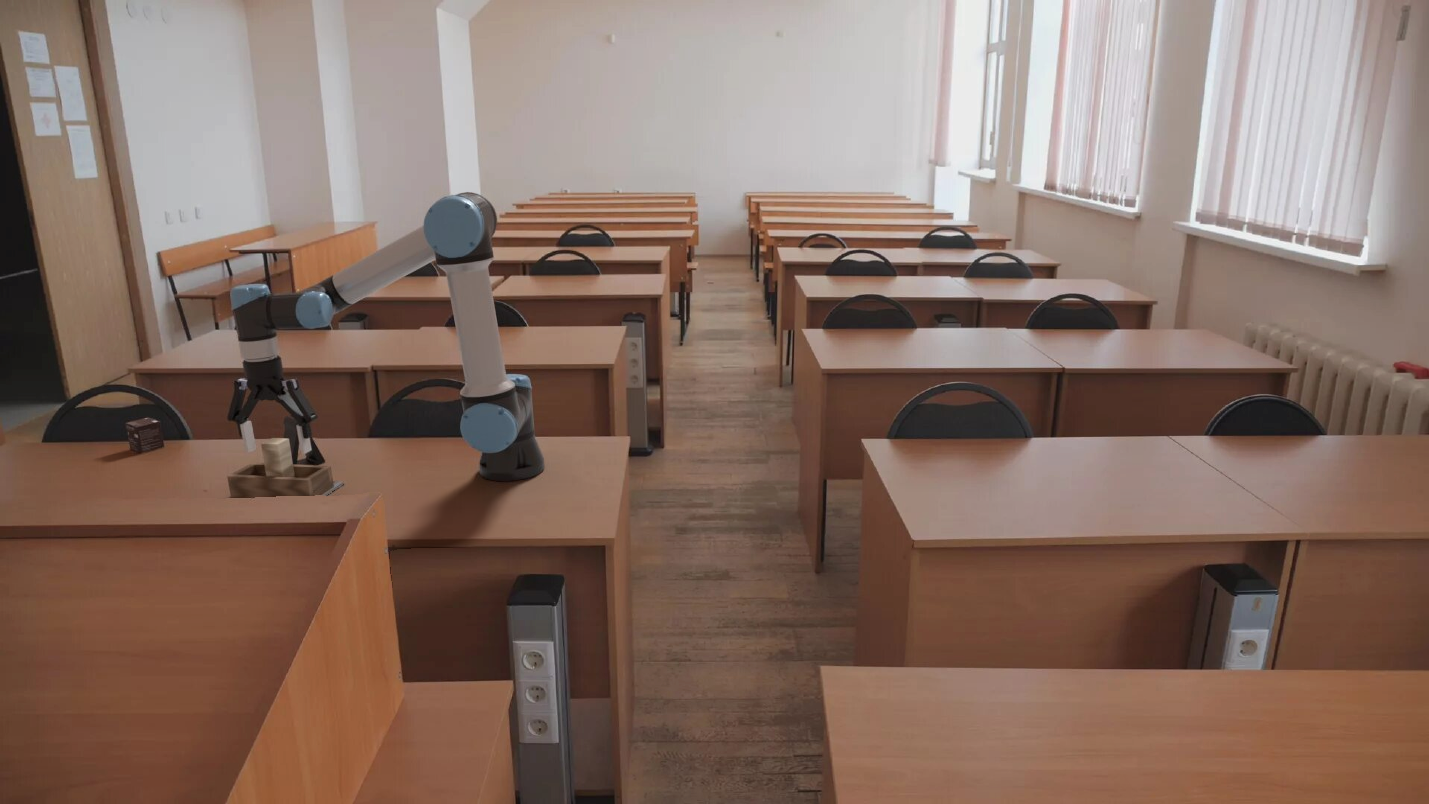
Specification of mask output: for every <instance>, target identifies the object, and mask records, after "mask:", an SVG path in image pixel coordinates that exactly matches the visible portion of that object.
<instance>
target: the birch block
mask: <svg viewBox="0 0 1429 804" xmlns="http://www.w3.org/2000/svg"><path fill="white" fill-rule="evenodd" d="M260 446H261V451H262V458H263V463H264V465H265V471H266V476H272V477H292V478H295V474H294V468H293V462H292V455H291V449H290V442H289V439H286V438H283V437H271V438H269V439H268V440H266V441H263V442H261V444H260Z"/></svg>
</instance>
